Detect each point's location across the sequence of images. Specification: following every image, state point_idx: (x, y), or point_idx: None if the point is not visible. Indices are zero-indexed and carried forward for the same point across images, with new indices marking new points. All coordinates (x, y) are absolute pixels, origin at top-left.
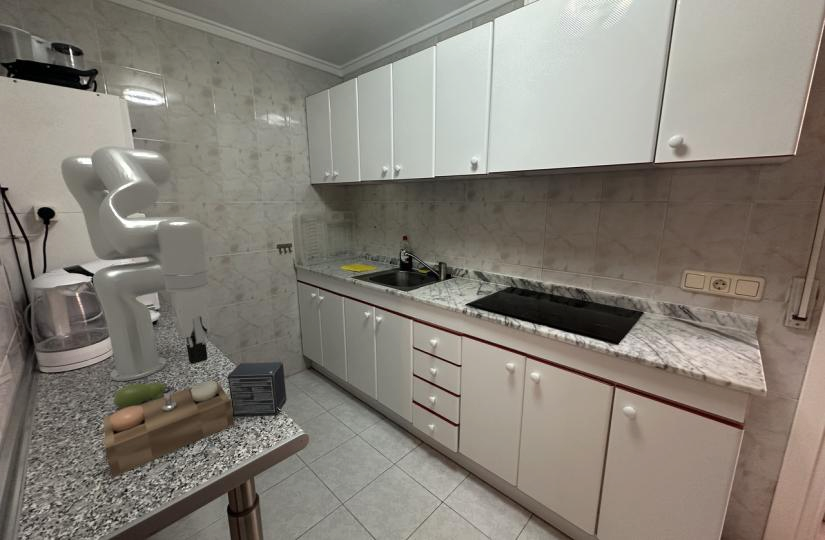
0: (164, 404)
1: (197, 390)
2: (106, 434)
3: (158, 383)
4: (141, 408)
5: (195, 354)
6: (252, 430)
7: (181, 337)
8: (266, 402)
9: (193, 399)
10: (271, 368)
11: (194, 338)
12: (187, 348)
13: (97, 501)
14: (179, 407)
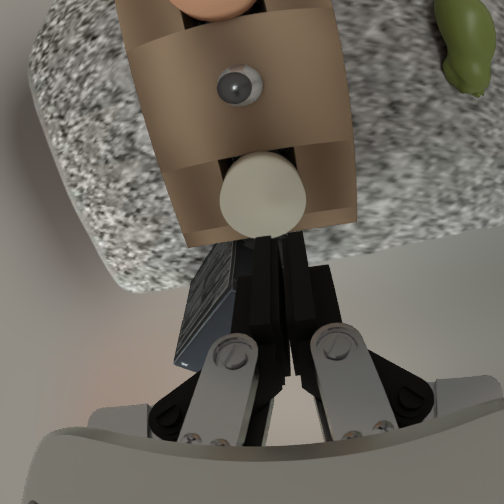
0: (253, 71)
1: (245, 181)
2: None
3: (482, 82)
4: (218, 10)
5: (234, 305)
6: (162, 238)
7: (79, 437)
8: (193, 292)
9: (245, 155)
10: None
11: (157, 435)
12: (291, 303)
13: (93, 3)
14: (227, 113)
